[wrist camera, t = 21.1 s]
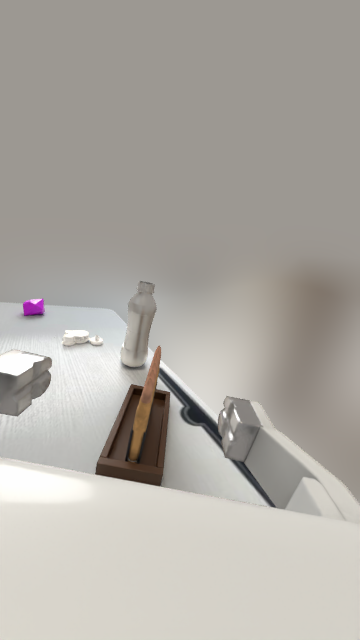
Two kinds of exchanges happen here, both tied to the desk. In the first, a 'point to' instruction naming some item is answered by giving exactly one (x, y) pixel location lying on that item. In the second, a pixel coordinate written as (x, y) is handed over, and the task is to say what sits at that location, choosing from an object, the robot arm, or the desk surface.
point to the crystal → (33, 307)
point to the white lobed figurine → (80, 338)
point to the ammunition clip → (143, 412)
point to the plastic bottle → (138, 325)
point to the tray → (154, 444)
